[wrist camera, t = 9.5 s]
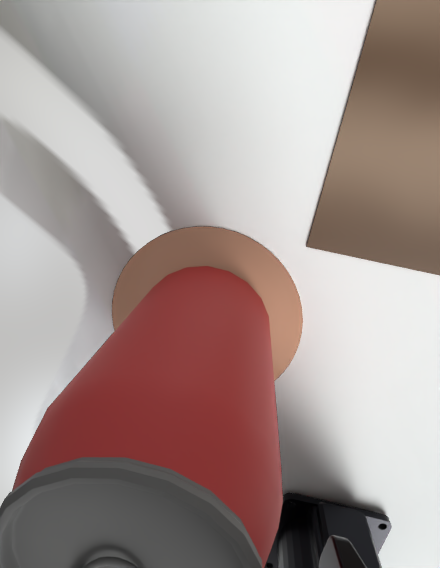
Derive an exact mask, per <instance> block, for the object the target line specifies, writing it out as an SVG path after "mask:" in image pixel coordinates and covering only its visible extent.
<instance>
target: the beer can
mask: <svg viewBox="0 0 440 568" xmlns="http://www.w3.org/2000/svg"><path fill="white" fill-rule="evenodd" d="M282 503H283V492H282V471H281V458H280V446H279V434H278V422H277V409H276V397H275V385H274V373H273V361H272V349H271V336H270V324H269V316H268V313H267V311H266V308H265V306H264V304H263V301H262V299H261V297H260V296H259V295H258V294H257V293H256V292H255V290H254V289H253V288H252V287H251V286H250V285H249V284H248V282H246V281H244V280H243V279H241V278H240V277H238V276H236V275H235V274H233V273H231V272H230V271H226V270H222V269H218V268H214V267H210V266H199V267H186V268H183V269H181V270H178V271H176V272H173V273H171V274H168V275H167V276H166V277H164V278H163V279H162V280H161V281H160V282H159V283H157V284H156V285H155V286H154V287H153V288H152V289H151V290H150V291H149V292H148V294H147V295H146V296H145V297H144V298H143V299H142V300H141V302H140V303H139V304H138V305H137V306H136V307H135V308H134V310H133V311H132V312H131V313H130V314H129V315H128V317H127V318H126V319H125V320H124V321H123V322H122V323H121V325H120V326H119V327H118V328H117V329H116V330H115V331H114V333H113V334H112V335H111V336H110V337H109V338H108V340H107V341H106V342H105V343H104V344H103V345H102V346H101V348H100V349H99V350H98V351H97V352H96V353H95V354H94V356H93V357H92V358H91V359H90V360H89V361H88V362H87V364H86V365H85V366H84V367H83V368H82V369H81V371H80V372H79V373H78V374H77V375H76V376H75V377H74V379H73V380H72V381H71V382H70V383H69V384H68V385H67V387H66V388H65V389H64V390H63V391H62V392H61V394H60V395H59V396H58V397H57V398H56V399H55V400H54V402H53V403H52V404H51V405H50V406H49V407H48V409H47V411H46V412H45V414H44V416H43V418H42V420H41V422H40V424H39V426H38V428H37V430H36V432H35V434H34V436H33V438H32V440H31V442H30V444H29V446H28V448H27V450H26V452H25V454H24V456H23V458H22V460H21V463H20V466H19V470H18V473H17V476H16V479H15V483H14V486H13V490H12V492H10V493H9V494H8V496H7V497H6V498H5V499H4V501H3V503H2V505H1V507H0V568H264V567H265V564H266V562H267V559H268V556H269V554H270V551H271V548H272V545H273V542H274V539H275V536H276V533H277V531H278V528H279V522H280V516H281V509H282Z"/></svg>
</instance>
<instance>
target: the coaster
mask: <svg viewBox="0 0 440 568" xmlns="http://www.w3.org/2000/svg"><path fill="white" fill-rule="evenodd" d="M199 266H210V267H214V268H218V269H222V270H226V271H230V272H231V273H233V274H235V275H236V276H238V277H240V278H241V279H243V280H244V281H246V282H248V284H249V285H250V286H251V287H252V288H253V289H254V290H255V292H256V293H257V294H258V295H259V296H260V297H261V299H262V301H263V304H264V306H265V308H266V311H267V313H268V316H269V324H270V336H271V349H272V361H273V373H274V381H275V380H276V379H277V378H278V377H279V376H280V375H281V374H282V373H283V372H284V371H285V369H286V368H287V367H288V365H289V364H290V362H291V361H292V359H293V357H294V355H295V353H296V350H297V348H298V345H299V342H300V338H301V333H302V323H303V318H302V307H301V302H300V298H299V294H298V292H297V289H296V286H295V284H294V282H293V280H292V278H291V276H290V275H289V273H288V271H287V270H286V269H285V267H284V266H283V265H282V263H281V262H280V261H279V260H278V259H277V258H276V257H275V256H274V255H273V254H272V253H271V252H270V251H268V250H267V249H266V248H265V247H263V246H262V245H261V244H259V243H257V242H256V241H254V240H252V239H251V238H249V237H246V236H244V235H242V234H239V233H237V232H234V231H230V230H226V229H222V228H215V227H189V228H182V229H179V230H175V231H171V232H170V231H169V232H167V233H164V234H162V235H160V236H158V237H157V238H155V239H153V240H152V241H150V242H149V243H147V244H146V245H145V246H143V247H142V248H141V249H140V250H138V251H137V252H136V254H135V255H134V256H133V257H132V258H131V259H130V260H129V261H128V263H127V264H126V266H125V267H124V269H123V270H122V272H121V274H120V276H119V279H118V281H117V284H116V287H115V290H114V295H113V301H112V318H113V326H114V330H116V329H117V328H118V327H119V326H120V325H121V323H122V322H123V321H124V320H125V319H126V318H127V317H128V315H129V314H130V313H131V312H132V311H133V310H134V308H135V307H136V306H137V305H138V304H139V303H140V302H141V300H142V299H143V298H144V297H145V296H146V295H147V294H148V292H149V291H150V290H151V289H152V288H153V287H154V286H155V285H156V284H157V283H159V282H160V281H161V280H162V279H163V278H164V277H166V276H167V275H168V274H171V273H173V272H176V271H178V270H181V269H183V268H186V267H199Z"/></svg>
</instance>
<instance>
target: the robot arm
mask: <svg viewBox="0 0 440 568" xmlns="http://www.w3.org/2000/svg"><path fill="white" fill-rule="evenodd" d="M390 530H391V523H390V521H389V518H388V517H387V516H386V515H384V514H379V513H375V512H371V511H367V510H363V509H358V508H354V507H350V506H346V505H341V504H337V503H333V502H329V501H324V500H320V499H316V498H312V497H308V496H303V495H299V494H295V493H287V494H285V495H284V496H283V503H282V509H281V516H280V522H279V528H278V531H277V533H276V536H275V539H274V542H273V545H272V548H271V551H270V554H269V556H268V559H267V562H266V564H265V567H264V568H382V567H381V563H380V560H379V557H378V553H379V551H380V549H381V547H382V545H383V543H384V541H385V539H386V538H387V536H388V534H389V532H390Z"/></svg>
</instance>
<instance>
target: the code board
mask: <svg viewBox="0 0 440 568" xmlns="http://www.w3.org/2000/svg"><path fill="white" fill-rule="evenodd" d="M306 247H310V248H314V249H319V250H324V251H329V252H333V253H338V254H343V255H347V256H352V257H357V258H361V259H366V260H371V261H375V262H380V263H385V264H389V265H394V266H399V267H403V268H408V269H413V270H417V271H422V272H427V273H432V274H436V275H440V0H376V4H375V7H374V11H373V14H372V18H371V21H370V25H369V28H368V32H367V35H366V39H365V42H364V46H363V49H362V53H361V56H360V60H359V63H358V67H357V70H356V74H355V77H354V81H353V84H352V88H351V91H350V95H349V98H348V102H347V105H346V109H345V112H344V116H343V120H342V123H341V127H340V130H339V134H338V137H337V141H336V144H335V148H334V151H333V155H332V158H331V162H330V165H329V169H328V172H327V176H326V179H325V183H324V186H323V190H322V193H321V197H320V200H319V204H318V207H317V211H316V214H315V218H314V221H313V225H312V228H311V232H310V235H309V239H308V242H307V246H306Z"/></svg>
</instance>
